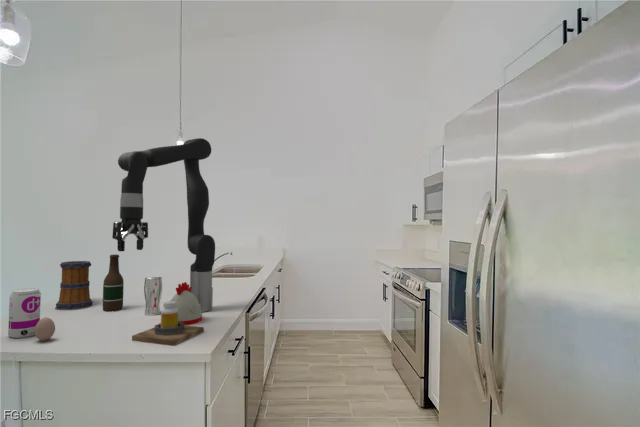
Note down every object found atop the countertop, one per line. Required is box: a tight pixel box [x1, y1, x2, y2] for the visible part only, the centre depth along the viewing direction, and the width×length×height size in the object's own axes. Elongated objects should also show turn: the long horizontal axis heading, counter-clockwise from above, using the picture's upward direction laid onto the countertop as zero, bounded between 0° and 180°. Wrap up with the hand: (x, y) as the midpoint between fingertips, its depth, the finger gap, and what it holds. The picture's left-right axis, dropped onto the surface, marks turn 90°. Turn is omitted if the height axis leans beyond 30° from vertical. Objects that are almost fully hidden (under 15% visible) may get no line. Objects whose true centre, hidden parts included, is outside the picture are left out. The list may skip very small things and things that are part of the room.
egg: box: [34, 316, 56, 342], centre depth 118 cm, size 5×5×7 cm
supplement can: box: [7, 287, 42, 339], centre depth 124 cm, size 8×8×15 cm
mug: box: [54, 260, 94, 311], centre depth 168 cm, size 19×14×20 cm
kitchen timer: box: [169, 281, 203, 326], centre depth 144 cm, size 14×14×15 cm
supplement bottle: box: [160, 300, 178, 328], centre depth 125 cm, size 5×5×10 cm
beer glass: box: [143, 276, 163, 316], centre depth 155 cm, size 7×7×15 cm
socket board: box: [131, 322, 205, 346], centre depth 125 cm, size 16×16×4 cm
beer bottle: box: [102, 254, 125, 313], centre depth 161 cm, size 8×8×24 cm
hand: (130, 250), depth 134 cm, fingers open, 8 cm apart
